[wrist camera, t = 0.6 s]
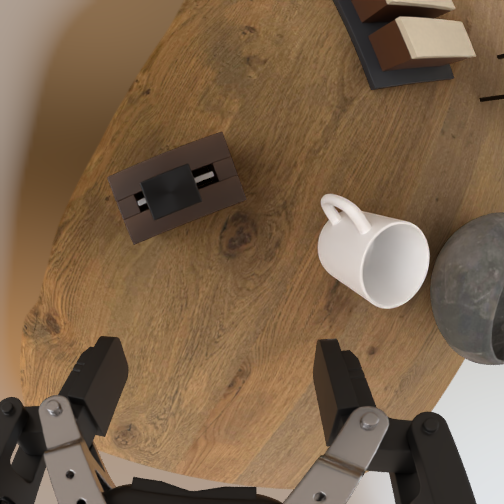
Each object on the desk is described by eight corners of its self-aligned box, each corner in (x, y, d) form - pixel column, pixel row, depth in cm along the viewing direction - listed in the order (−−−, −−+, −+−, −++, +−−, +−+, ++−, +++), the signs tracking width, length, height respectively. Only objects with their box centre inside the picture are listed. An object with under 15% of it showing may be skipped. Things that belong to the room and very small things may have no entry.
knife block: (123, 177, 30) (106, 177, 23) (214, 141, 31) (222, 131, 24) (144, 231, 32) (133, 245, 25) (234, 195, 33) (246, 200, 26)
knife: (147, 186, 31) (111, 194, 15) (202, 165, 31) (217, 152, 16) (154, 206, 31) (126, 232, 16) (209, 185, 32) (231, 190, 17)
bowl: (470, 178, 39) (549, 187, 24) (497, 276, 45) (559, 301, 31) (385, 262, 38) (469, 302, 24) (428, 354, 44) (487, 401, 30)
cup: (340, 291, 38) (386, 325, 28) (281, 217, 34) (318, 233, 25) (386, 245, 38) (440, 266, 28) (334, 169, 34) (386, 168, 25)
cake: (324, -17, 28) (351, -47, 21) (410, -12, 30) (441, -31, 23) (371, 90, 33) (411, 75, 25) (450, 79, 35) (488, 70, 27)
